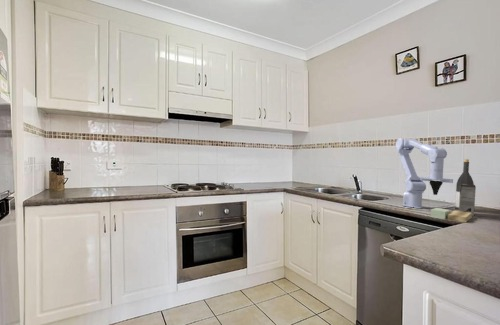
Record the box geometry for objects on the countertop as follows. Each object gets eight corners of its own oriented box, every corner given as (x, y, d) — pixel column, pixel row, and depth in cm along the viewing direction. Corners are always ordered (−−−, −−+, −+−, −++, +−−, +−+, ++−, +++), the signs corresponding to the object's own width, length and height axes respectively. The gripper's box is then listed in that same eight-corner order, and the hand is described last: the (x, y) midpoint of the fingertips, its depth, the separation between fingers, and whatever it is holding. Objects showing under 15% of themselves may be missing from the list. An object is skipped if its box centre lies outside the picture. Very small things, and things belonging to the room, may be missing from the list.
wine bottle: (456, 210, 150) (459, 159, 149) (453, 207, 157) (456, 159, 156) (474, 212, 146) (477, 159, 145) (470, 209, 153) (473, 159, 152)
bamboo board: (447, 219, 127) (447, 214, 127) (454, 214, 137) (454, 210, 137) (465, 222, 122) (465, 217, 122) (471, 217, 132) (471, 212, 132)
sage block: (430, 217, 132) (431, 209, 132) (436, 215, 137) (436, 207, 136) (444, 219, 127) (445, 211, 127) (449, 217, 132) (450, 210, 132)
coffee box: (458, 211, 146) (460, 183, 146) (473, 213, 142) (475, 184, 142) (458, 214, 139) (460, 184, 139) (474, 216, 135) (475, 185, 135)
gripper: (419, 169, 144) (418, 193, 145) (451, 171, 134) (450, 197, 134) (423, 169, 149) (421, 192, 150) (454, 171, 138) (453, 196, 139)
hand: (435, 194), depth 142 cm, fingers closed
